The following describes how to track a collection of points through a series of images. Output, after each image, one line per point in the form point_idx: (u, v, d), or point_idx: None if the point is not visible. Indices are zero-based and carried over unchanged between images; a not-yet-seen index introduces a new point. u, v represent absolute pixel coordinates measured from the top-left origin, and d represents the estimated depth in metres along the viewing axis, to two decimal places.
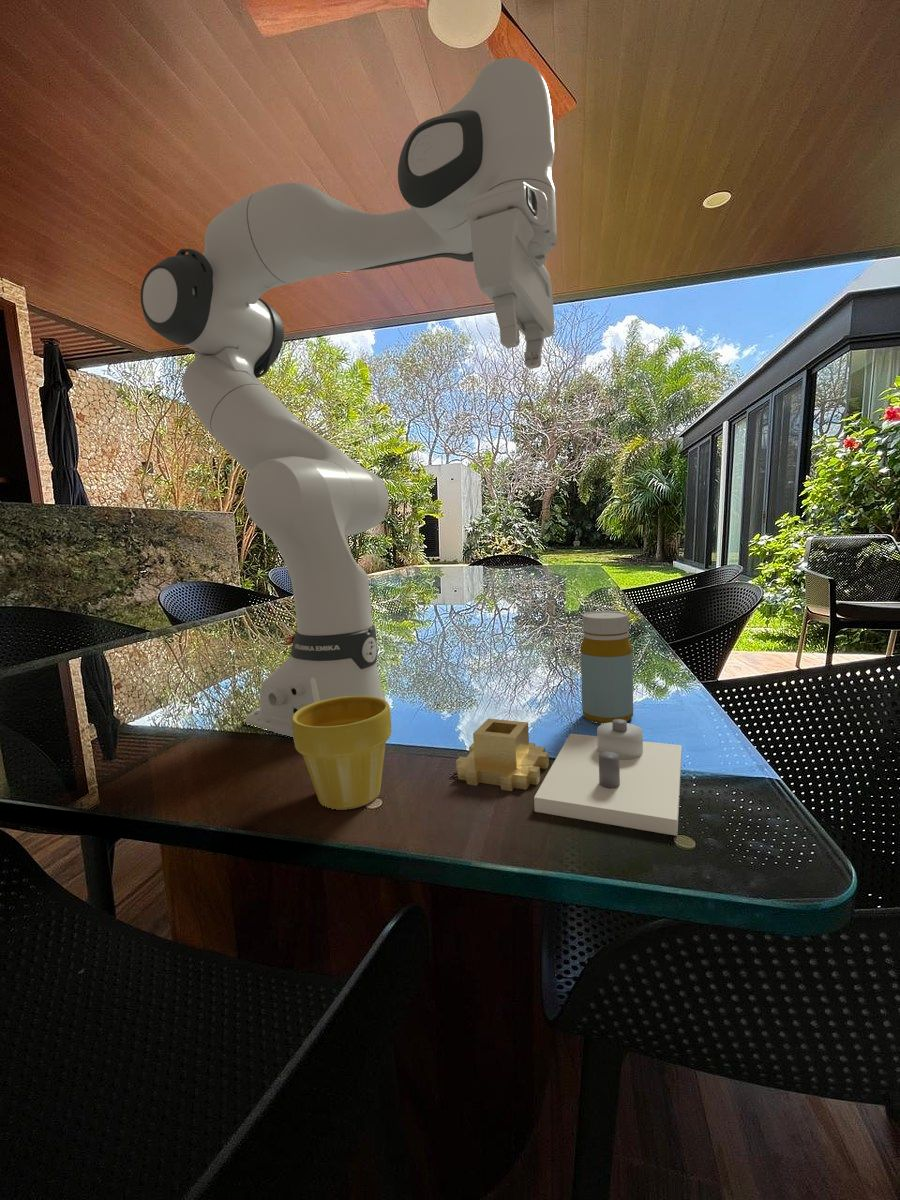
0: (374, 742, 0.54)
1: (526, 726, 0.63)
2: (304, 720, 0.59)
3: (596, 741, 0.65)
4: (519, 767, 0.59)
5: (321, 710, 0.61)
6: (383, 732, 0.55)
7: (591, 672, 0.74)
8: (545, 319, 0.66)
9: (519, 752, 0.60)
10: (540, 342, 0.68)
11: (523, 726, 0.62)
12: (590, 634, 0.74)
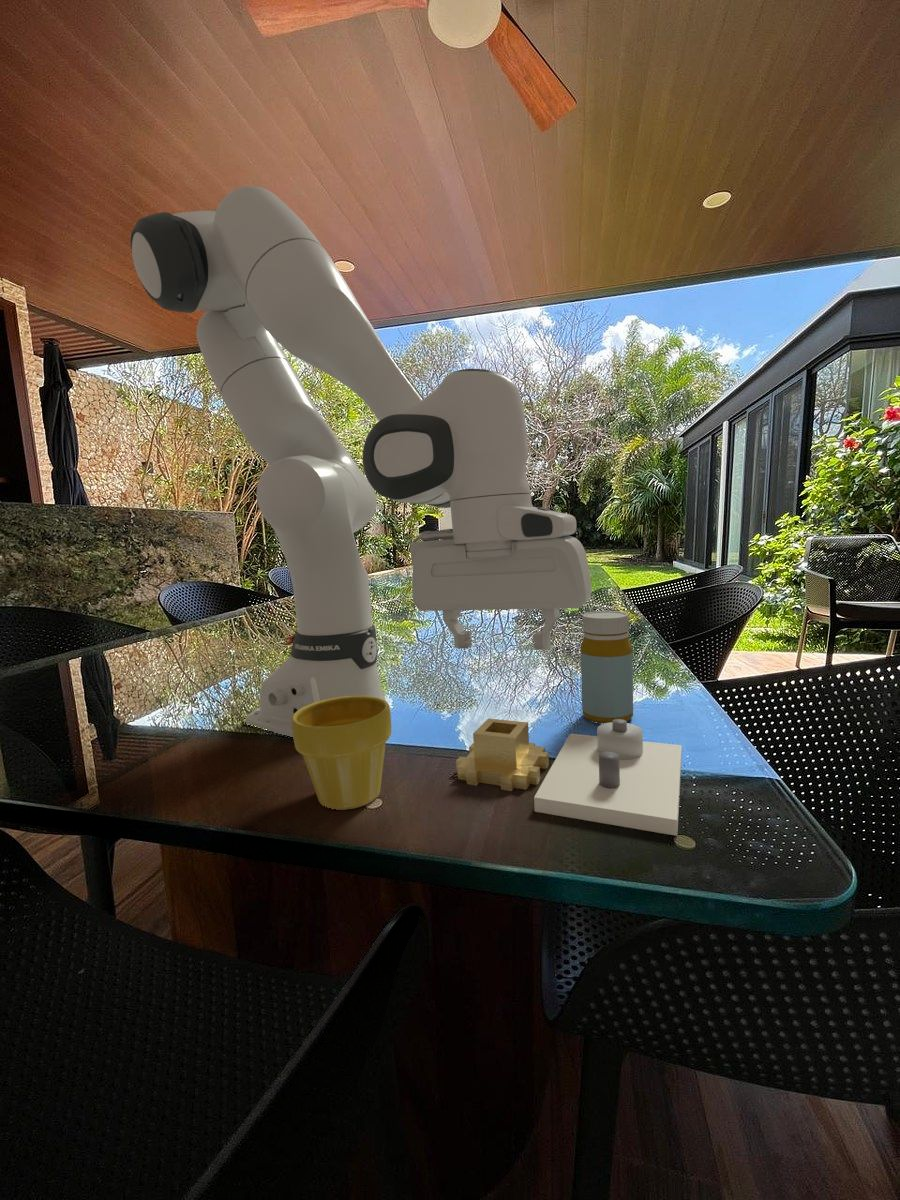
0: (374, 742, 0.54)
1: (526, 726, 0.63)
2: (304, 720, 0.59)
3: (596, 741, 0.65)
4: (519, 767, 0.59)
5: (321, 710, 0.61)
6: (383, 732, 0.55)
7: (591, 672, 0.74)
8: None
9: (519, 752, 0.60)
10: (458, 621, 0.63)
11: (523, 726, 0.62)
12: (590, 634, 0.74)
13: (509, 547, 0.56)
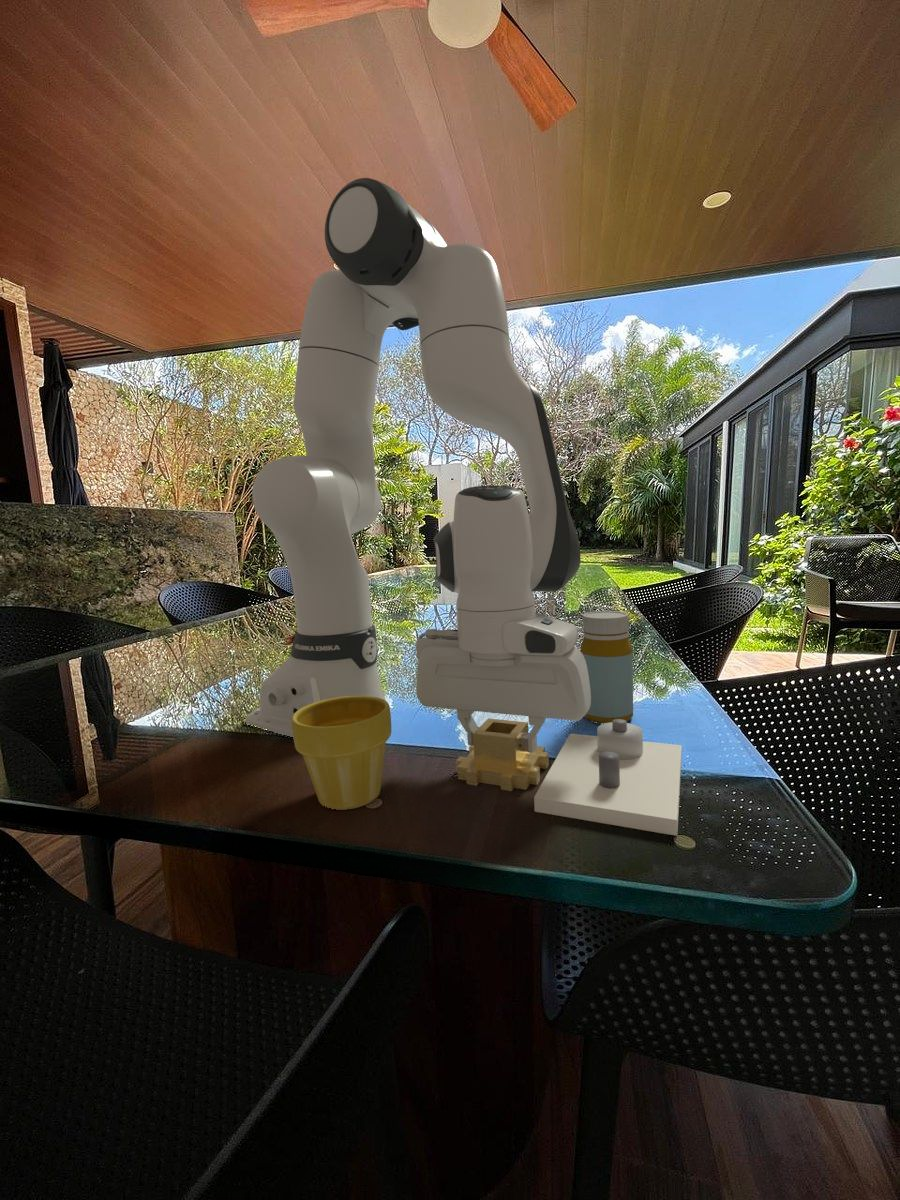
0: (374, 742, 0.54)
1: (526, 726, 0.63)
2: (304, 720, 0.59)
3: (596, 741, 0.65)
4: (519, 767, 0.59)
5: (321, 710, 0.61)
6: (383, 732, 0.55)
7: (591, 672, 0.74)
8: None
9: (519, 752, 0.60)
10: (471, 717, 0.64)
11: (523, 726, 0.62)
12: (590, 634, 0.74)
13: (512, 657, 0.58)
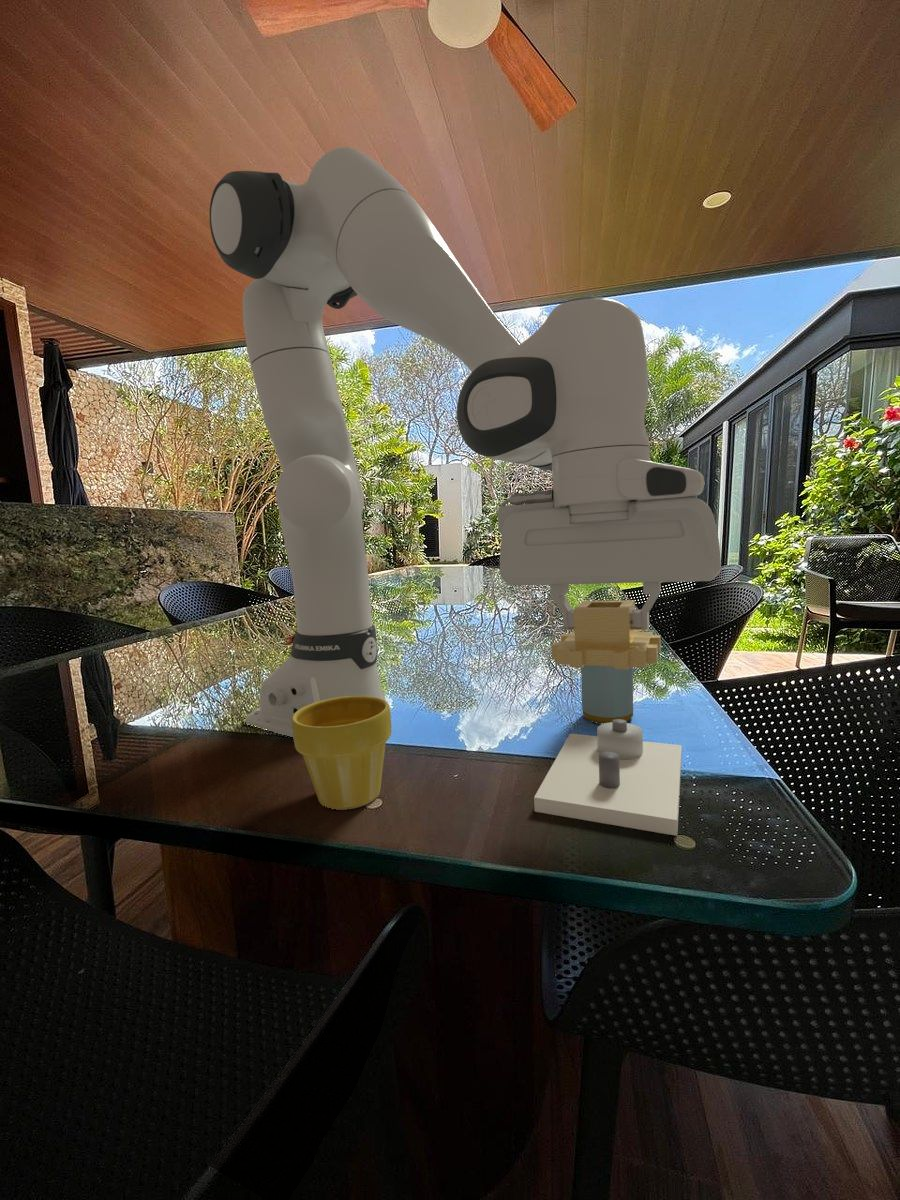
0: (374, 742, 0.54)
1: (633, 604, 0.53)
2: (304, 720, 0.59)
3: (596, 741, 0.65)
4: (632, 645, 0.49)
5: (321, 710, 0.61)
6: (383, 732, 0.55)
7: (591, 672, 0.74)
8: None
9: (631, 630, 0.50)
10: (565, 597, 0.54)
11: (631, 602, 0.52)
12: None
13: (625, 509, 0.48)
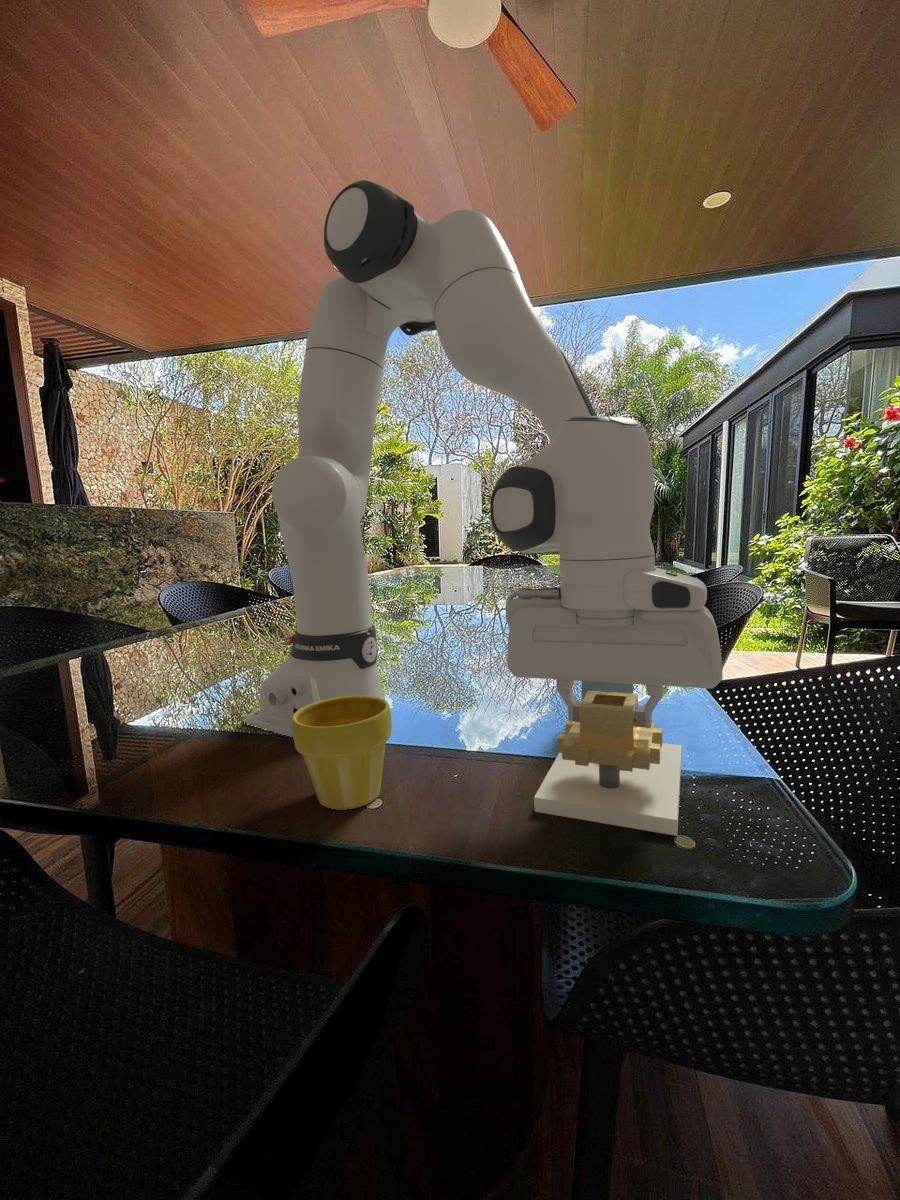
0: (374, 742, 0.54)
1: (637, 698, 0.54)
2: (304, 720, 0.59)
3: None
4: (636, 744, 0.51)
5: (321, 710, 0.61)
6: (383, 732, 0.55)
7: None
8: None
9: (634, 728, 0.52)
10: (570, 689, 0.56)
11: (634, 698, 0.54)
12: None
13: (631, 615, 0.50)
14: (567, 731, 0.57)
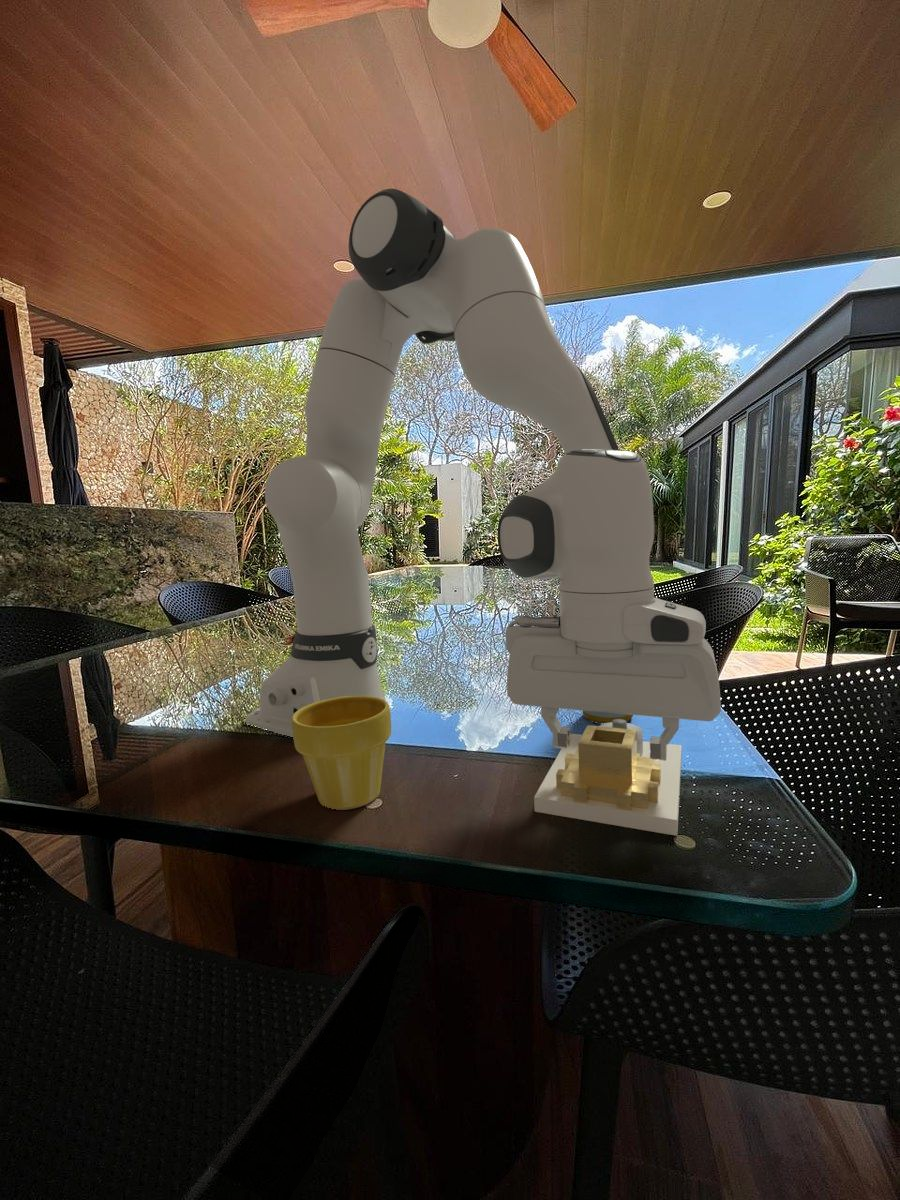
0: (374, 742, 0.54)
1: (636, 734, 0.55)
2: (304, 720, 0.59)
3: None
4: (634, 782, 0.51)
5: (321, 710, 0.61)
6: (383, 732, 0.55)
7: None
8: None
9: (633, 765, 0.52)
10: (555, 715, 0.57)
11: (633, 734, 0.54)
12: None
13: (630, 647, 0.50)
14: (566, 765, 0.58)
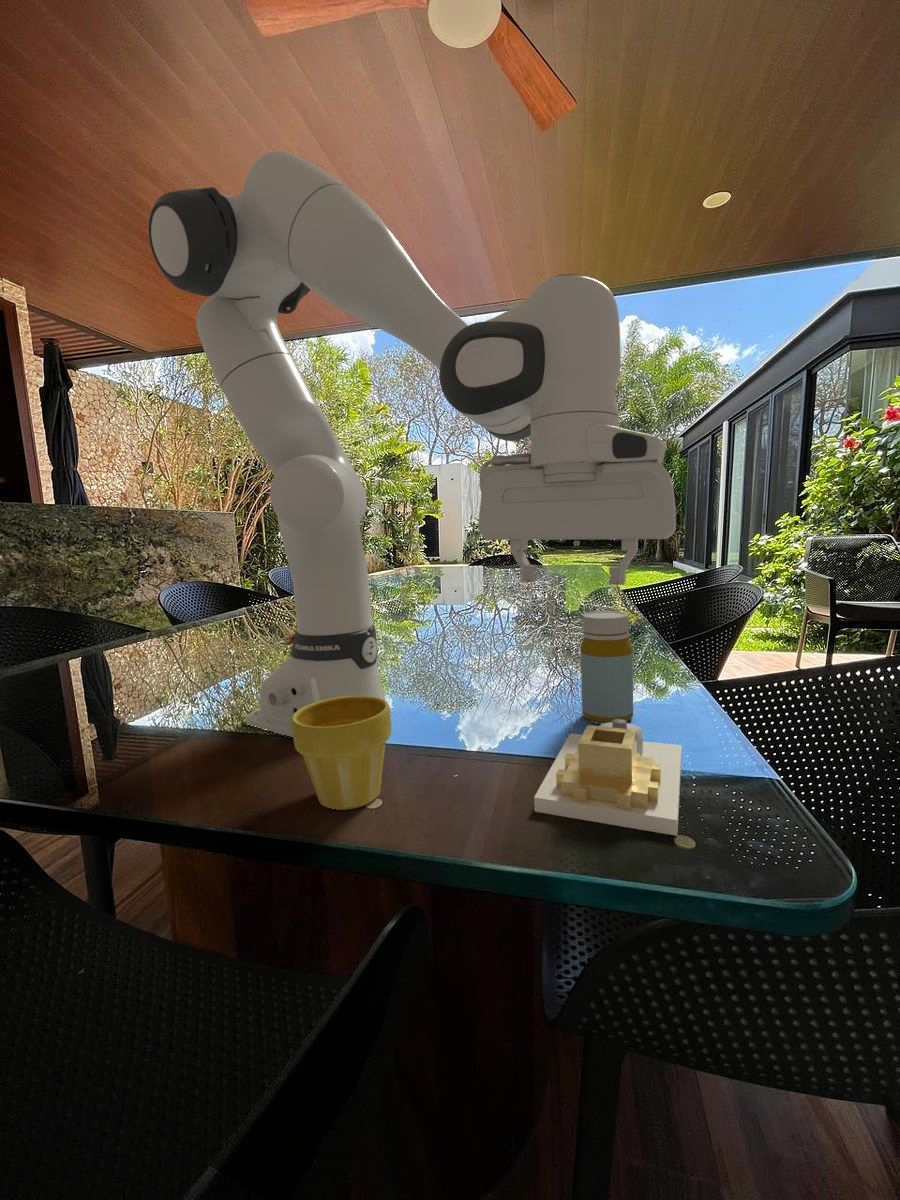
0: (374, 742, 0.54)
1: (636, 734, 0.55)
2: (304, 720, 0.59)
3: None
4: (634, 782, 0.51)
5: (321, 710, 0.61)
6: (383, 732, 0.55)
7: (591, 672, 0.74)
8: None
9: (633, 765, 0.52)
10: (524, 554, 0.60)
11: (633, 734, 0.54)
12: (590, 634, 0.74)
13: (593, 471, 0.53)
14: (566, 765, 0.58)
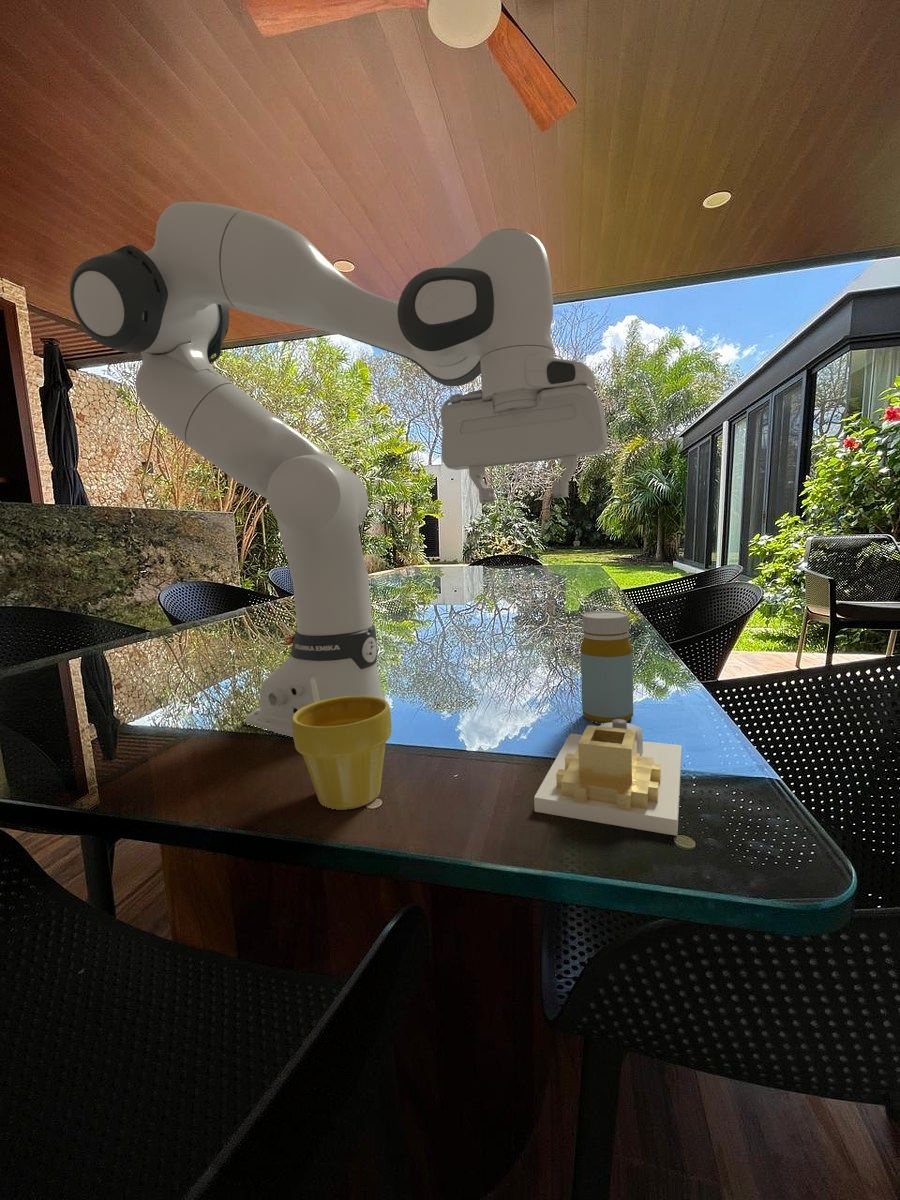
0: (374, 742, 0.54)
1: (636, 734, 0.55)
2: (304, 720, 0.59)
3: None
4: (634, 782, 0.51)
5: (321, 710, 0.61)
6: (383, 732, 0.55)
7: (591, 672, 0.74)
8: None
9: (633, 765, 0.52)
10: (482, 480, 0.69)
11: (633, 734, 0.54)
12: (590, 634, 0.74)
13: (534, 398, 0.62)
14: (566, 765, 0.58)
